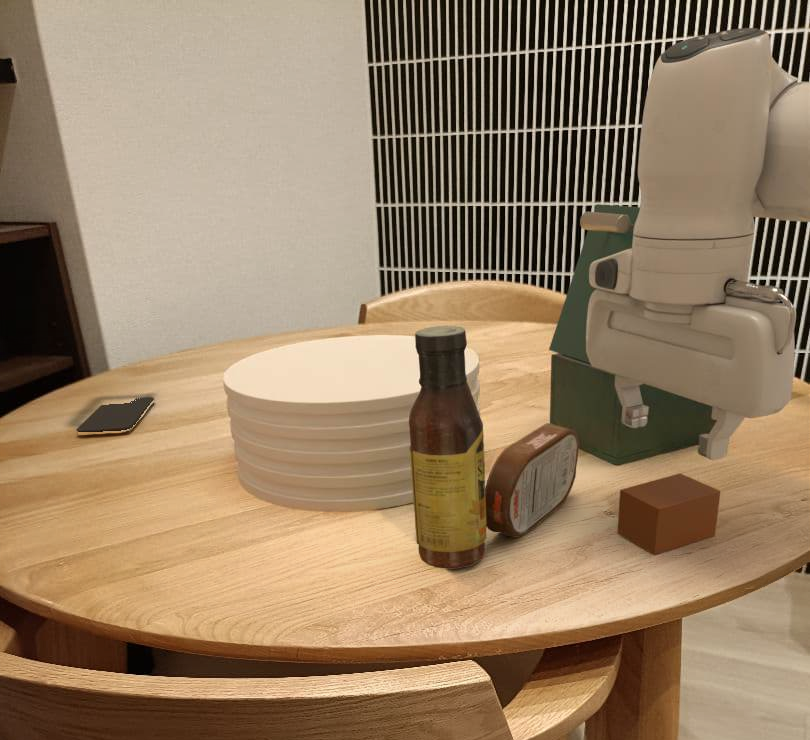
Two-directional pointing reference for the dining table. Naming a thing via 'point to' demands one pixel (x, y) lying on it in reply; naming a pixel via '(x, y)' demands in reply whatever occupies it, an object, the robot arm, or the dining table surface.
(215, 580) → the dining table surface
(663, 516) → the brown rectangular block
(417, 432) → the sauce bottle
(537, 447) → the tin
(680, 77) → the robot arm
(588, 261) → the bin lid
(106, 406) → the phone
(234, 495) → the dining table surface
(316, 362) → the plate stack
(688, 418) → the bin
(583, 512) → the dining table surface
